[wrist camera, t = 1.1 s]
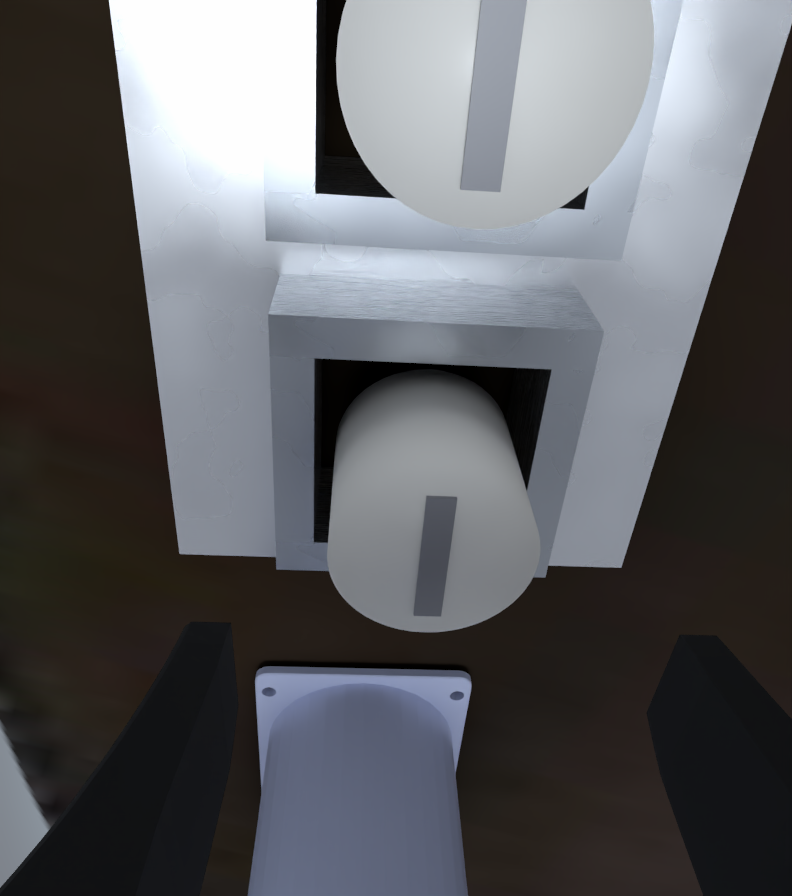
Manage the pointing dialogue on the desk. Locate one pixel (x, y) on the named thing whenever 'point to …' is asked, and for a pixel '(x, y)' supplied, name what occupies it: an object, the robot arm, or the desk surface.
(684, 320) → the mount
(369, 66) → the knob
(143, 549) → the desk surface
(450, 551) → the knob
